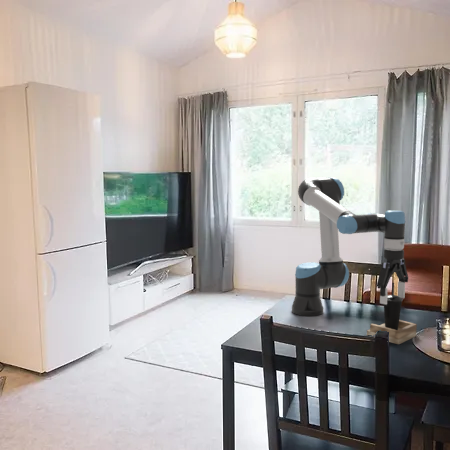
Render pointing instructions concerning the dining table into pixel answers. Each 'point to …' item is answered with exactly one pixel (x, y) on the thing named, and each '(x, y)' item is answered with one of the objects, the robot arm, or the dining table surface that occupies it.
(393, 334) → the tray
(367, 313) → the dining table surface
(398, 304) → the drinking cup
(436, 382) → the dining table surface
